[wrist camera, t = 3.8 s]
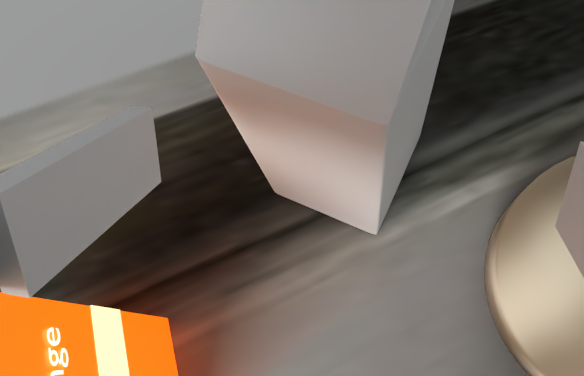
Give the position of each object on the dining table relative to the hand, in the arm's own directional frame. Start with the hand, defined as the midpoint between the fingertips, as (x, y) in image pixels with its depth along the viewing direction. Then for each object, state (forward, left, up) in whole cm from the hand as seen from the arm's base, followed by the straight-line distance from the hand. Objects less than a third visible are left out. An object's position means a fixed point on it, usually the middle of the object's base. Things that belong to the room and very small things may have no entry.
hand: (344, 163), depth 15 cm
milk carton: (-5, +3, -15) cm, 16 cm away
